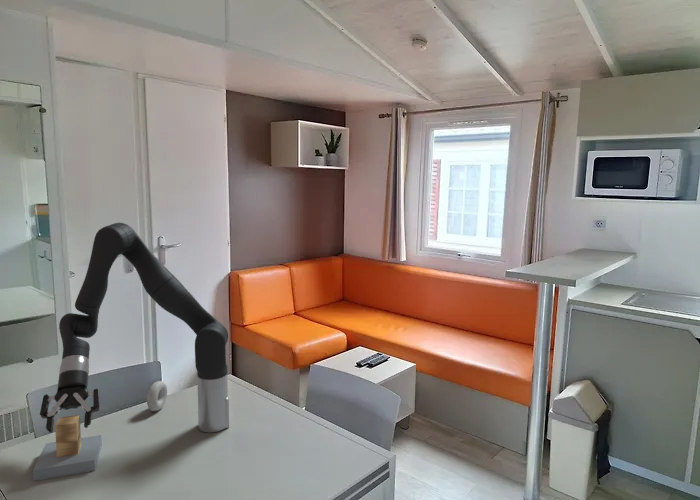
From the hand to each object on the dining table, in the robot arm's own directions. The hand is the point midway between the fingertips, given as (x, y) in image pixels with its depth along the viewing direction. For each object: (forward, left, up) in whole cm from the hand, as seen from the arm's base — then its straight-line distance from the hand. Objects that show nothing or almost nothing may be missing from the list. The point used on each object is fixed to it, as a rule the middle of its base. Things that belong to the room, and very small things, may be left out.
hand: (68, 429), depth 130 cm
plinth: (0, 0, -9) cm, 9 cm away
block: (0, 0, -6) cm, 6 cm away
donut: (-22, -26, -9) cm, 35 cm away
